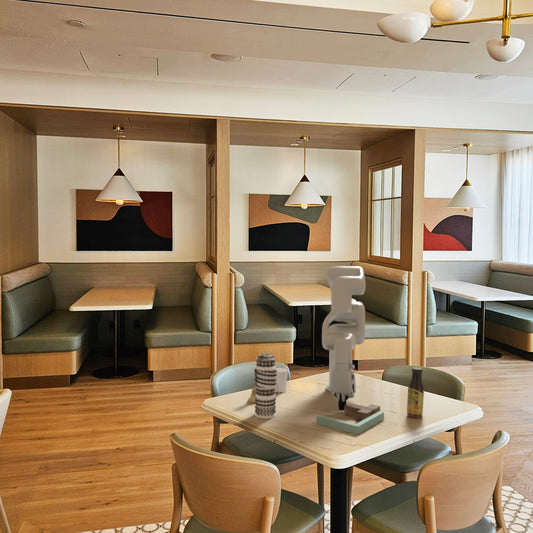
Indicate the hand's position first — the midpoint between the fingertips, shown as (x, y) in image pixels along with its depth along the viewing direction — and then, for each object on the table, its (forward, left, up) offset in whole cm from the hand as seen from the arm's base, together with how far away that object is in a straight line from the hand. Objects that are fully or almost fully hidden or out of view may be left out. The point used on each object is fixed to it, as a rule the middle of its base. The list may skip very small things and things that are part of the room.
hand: (342, 409), depth 218 cm
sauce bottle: (-15, +25, -1) cm, 30 cm away
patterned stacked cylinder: (+23, -23, -1) cm, 32 cm away
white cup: (-9, -40, -1) cm, 41 cm away
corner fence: (+8, +8, -1) cm, 11 cm away
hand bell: (+10, -38, -1) cm, 39 cm away
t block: (0, +8, -1) cm, 8 cm away
